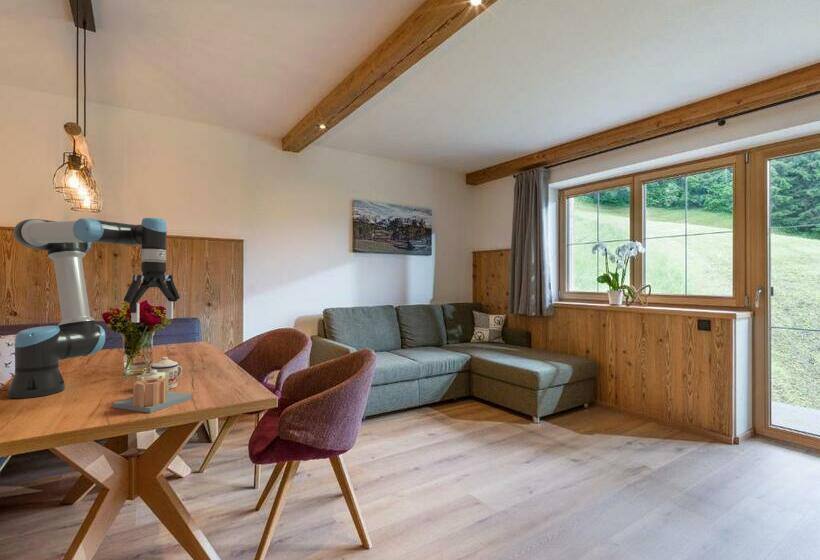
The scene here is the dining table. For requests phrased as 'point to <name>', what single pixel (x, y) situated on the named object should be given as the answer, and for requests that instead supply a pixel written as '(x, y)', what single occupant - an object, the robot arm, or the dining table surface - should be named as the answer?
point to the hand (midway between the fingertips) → (153, 320)
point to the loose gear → (149, 392)
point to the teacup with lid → (168, 370)
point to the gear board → (170, 400)
